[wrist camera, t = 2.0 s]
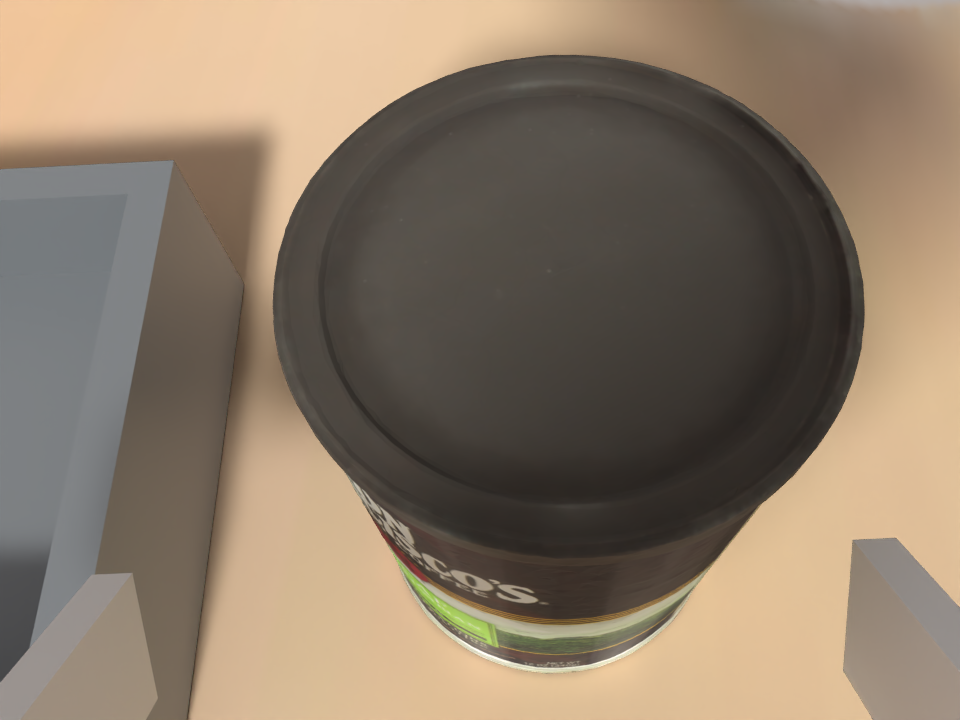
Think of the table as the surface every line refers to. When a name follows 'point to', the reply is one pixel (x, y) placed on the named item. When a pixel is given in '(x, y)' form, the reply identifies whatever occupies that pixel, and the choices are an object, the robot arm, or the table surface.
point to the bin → (111, 400)
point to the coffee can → (566, 341)
